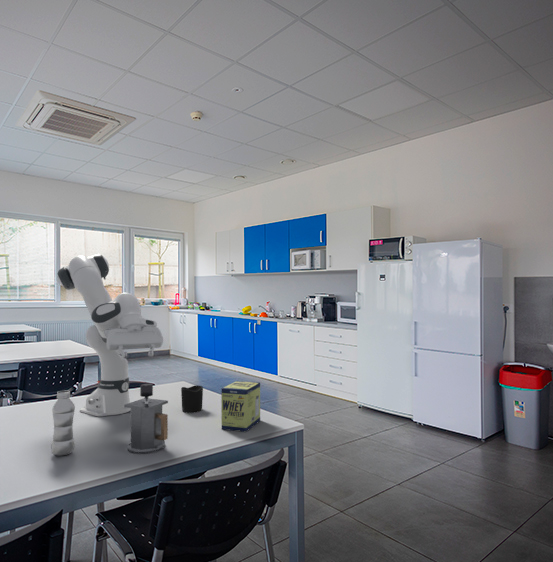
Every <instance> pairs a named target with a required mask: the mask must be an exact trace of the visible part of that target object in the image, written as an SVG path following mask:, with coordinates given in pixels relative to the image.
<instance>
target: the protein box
mask: <svg viewBox="0 0 553 562" xmlns="http://www.w3.org/2000/svg"><path fill="white" fill-rule="evenodd" d="M220 397H221V399H220V400H221V402H220V403H221V430H226V429H230V430H229V431H235V430H240V431H239V432H244V431H247V430H248V429H249V430H251V428H253V427H254V426H255V425H257V424H258V423H259V422H260V421H261V382H259V381H258V382H257V381H256V382H255V381H247V380H245V381H244V380H236V381H234V382H232V383H230V384H228V385H225V386H224V387H222V388H221V395H220ZM257 422H258V423H257ZM253 425H254V426H253ZM252 426H253V427H252ZM249 430H248V431H249ZM248 431H247V432H248Z"/></svg>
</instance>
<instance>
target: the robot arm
mask: <svg viewBox="0 0 553 562" xmlns="http://www.w3.org/2000/svg"><path fill="white" fill-rule="evenodd" d="M109 272H110V264H109V261H108V260H107V259H106V257H105V256H103V255H102V254H100V253H97V254H92V255H90V256H88V257H87V256H85V255H78V256H74V257H72V259H70V261H69V263H68V265H66V266H63V267H61V268H60V269H58V271H57V280H58V281H57V282H59V284H60V285H61V286H62V287H63V288H64V289H65V290H74V289H77V291H78V292H79V293H80V294H81V296H82V298H83V302H84V303H85V305H86V308H87V310H88V313H89V315H90V316H91V317H90V318H91V320H92V322H93V325H91V326H89V327H88V328H87V330H86V333H85V341H86V343H87V345H88V347H90V348H91V349H93V350H94V351H95V352H96V355H97V356H98V358H99V362H100V370H101V371H100V374H101V375H100V380H96V384H98V385H97V388H96V389H94V390H93V391H92V392H91V393H90V394H89V395H88V396H87V397H86V400H85V406H82V407H81V408H80V409H79V412H81V413H84V414H88V415H91V416H94V417H105V416H113V415H115V416H116V415H122V414H126V413H128V412H131V408H126V407H124V405H125V404H128V403H131V398H130V392H129V386H130V377H129V361H128V352H127V351H124V350H139V349H142V350H143V349H149V350H148V353H147V354H148V357H150V358H151V357H154V356H155V355H154V354H155V353H154V350H155V349H158V348H161V347H162V345H163V343H164V338H163V335H162V332H161V329H159V327H157V326H158V325H157V324H158V323H157V321H155V320H151V319H147V318H144V317H143V316H142V308H141V306H140V302H139V300H138V298H137V297H136V296H135V295H134V294H133V293H130V292H122V293H120V294H118V295H117V296H115V298H112V297H111V295H110V293H109V291H108V289H107V288H106V287H105V285H104V282H103V280H104V281H106V279H107V278H106V277H107V276H108V274H109Z"/></svg>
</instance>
